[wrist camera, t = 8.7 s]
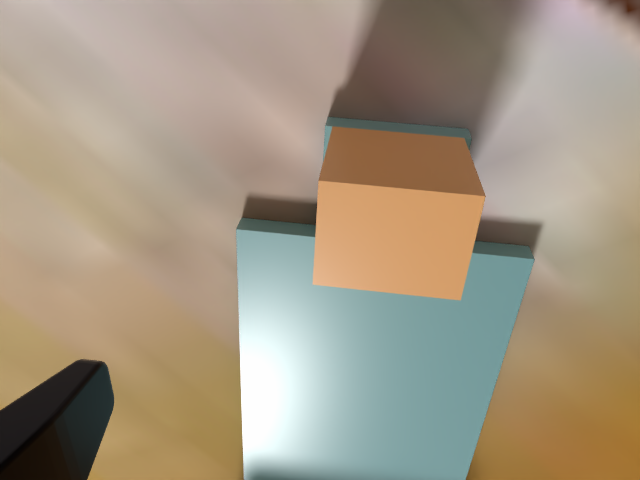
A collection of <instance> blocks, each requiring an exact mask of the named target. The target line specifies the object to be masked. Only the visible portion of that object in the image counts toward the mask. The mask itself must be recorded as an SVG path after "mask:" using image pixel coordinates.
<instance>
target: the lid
mask: <svg viewBox="0 0 640 480" xmlns="http://www.w3.org/2000/svg"><path fill="white" fill-rule="evenodd" d="M471 140H472V138H471V135H470V133H469V130H468V129H464V128H452V127H440V126H429V125H417V124H406V123H394V122H383V121H371V120H359V119H348V118H336V117H328V118H327V122H326V125H325V139H324V155H323V165H322V169H321V173H320V177H319V182H318V199H317V216H316V225H310V224H300V223H290V222H280V221H270V220H260V219H250V218H241V220H240V222H239V224H238V226H237V229H236V240H237V272H238V304H239V336H240V368H241V400H242V432H243V465H244V480H466V476H467V473H468V470H469V467H470V464H471V461H472V457H473V454H474V451H475V448H476V445H477V441H478V438H479V435H480V432H481V429H482V425H483V422H484V419H485V416H486V413H487V410H488V406H489V403H490V400H491V397H492V394H493V390H494V387H495V384H496V381H497V378H498V374H499V371H500V368H501V365H502V362H503V359H504V355H505V352H506V349H507V346H508V343H509V339H510V336H511V333H512V330H513V327H514V323H515V320H516V317H517V314H518V311H519V308H520V304H521V301H522V298H523V295H524V292H525V288H526V285H527V282H528V279H529V276H530V272H531V269H532V266H533V263H534V260H535V259H534V257H533V255H532V252H531V250H530V248H529V246H522V245H512V244H502V243H492V242H482V241H475V239H476V234H477V230H478V226H479V222H480V218H481V214H482V209H483V205H484V201H485V197H486V196H485V193H484V191H483V188H482V185H481V182H480V180H479V177H478V174H477V171H476V169H475V166H474V163H473V160H472V158H471V155H470V152H469V150H470V145H471Z"/></svg>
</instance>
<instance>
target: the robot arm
mask: <svg viewBox="0 0 640 480" xmlns="http://www.w3.org/2000/svg"><path fill="white" fill-rule="evenodd" d="M113 406H114V394H113V390H112V385H111V380H110V375H109V371H108V367H107V365H106V364H105V363H104V362H102V361H96V360H87V359H80V360H77V361H75V362H74V363H72V364H71V365H69V366H67V367H66V368H64V369H63V370H61V371H60V372H58V373H57V374H55V375H54V376H52V377H51V378H49V379H48V380H46V381H44V382H43V383H41V384H40V385H38V386H37V387H35V388H34V389H32V390H31V391H29V392H28V393H26V394H25V395H23V396H21V397H20V398H18V399H17V400H15V401H14V402H12V403H11V404H9V405H8V406H6V407H5V408H3V409H2V410H0V480H87V479H88V476H89V473H90V471H91V468H92V465H93V463H94V460H95V457H96V454H97V452H98V449H99V446H100V444H101V441H102V438H103V435H104V433H105V430H106V427H107V425H108V422H109V419H110V416H111V414H112V411H113Z"/></svg>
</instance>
